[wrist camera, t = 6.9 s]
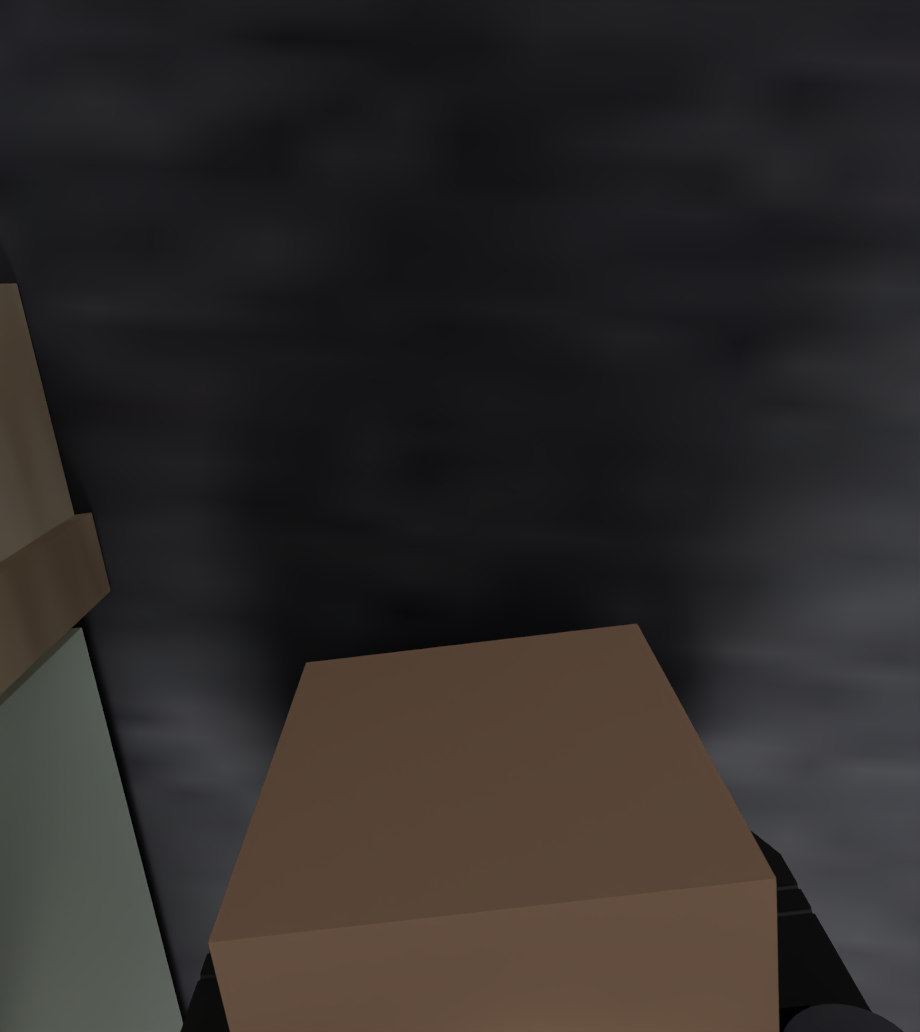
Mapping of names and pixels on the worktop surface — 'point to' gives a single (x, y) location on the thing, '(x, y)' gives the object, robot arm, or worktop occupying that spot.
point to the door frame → (36, 513)
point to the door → (72, 865)
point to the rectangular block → (497, 853)
